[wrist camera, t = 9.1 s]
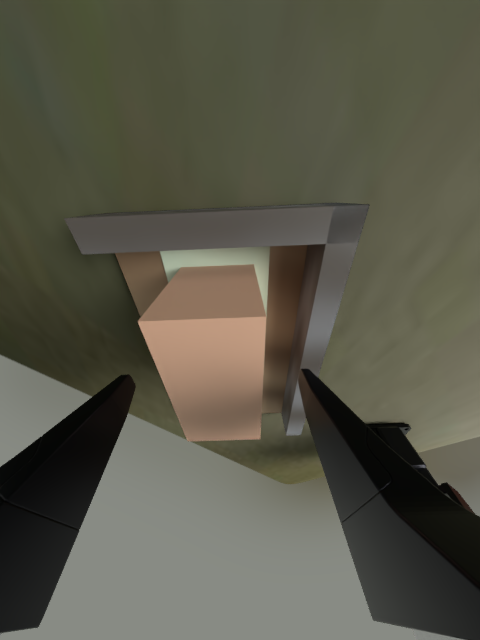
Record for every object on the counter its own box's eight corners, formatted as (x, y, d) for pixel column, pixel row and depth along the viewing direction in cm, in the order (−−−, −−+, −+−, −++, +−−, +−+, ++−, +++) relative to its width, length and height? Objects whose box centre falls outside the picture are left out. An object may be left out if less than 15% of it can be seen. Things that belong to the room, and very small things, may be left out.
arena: (293, 407, 21) (300, 435, 19) (181, 410, 21) (174, 439, 19) (337, 202, 10) (369, 204, 8) (105, 213, 10) (64, 218, 8)
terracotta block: (253, 264, 11) (266, 316, 6) (253, 365, 16) (260, 439, 11) (181, 267, 11) (137, 321, 6) (202, 367, 16) (187, 441, 11)
